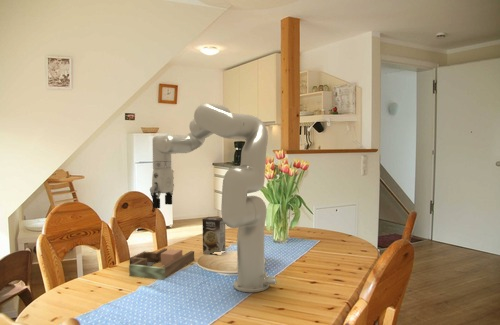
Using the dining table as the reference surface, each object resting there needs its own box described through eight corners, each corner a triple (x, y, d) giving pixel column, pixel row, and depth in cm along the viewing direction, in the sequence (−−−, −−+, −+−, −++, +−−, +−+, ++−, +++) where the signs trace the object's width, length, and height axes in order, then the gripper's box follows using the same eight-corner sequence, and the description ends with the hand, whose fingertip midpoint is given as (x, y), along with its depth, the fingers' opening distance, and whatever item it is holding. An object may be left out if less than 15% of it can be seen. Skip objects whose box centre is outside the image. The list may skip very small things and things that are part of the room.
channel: (194, 260, 160) (194, 251, 160) (163, 279, 137) (162, 268, 137) (153, 256, 167) (152, 247, 167) (116, 274, 144) (116, 263, 144)
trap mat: (155, 263, 157) (155, 262, 157) (147, 267, 151) (147, 267, 151) (145, 262, 158) (145, 261, 158) (136, 266, 153) (136, 265, 153)
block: (182, 261, 159) (182, 249, 159) (173, 266, 152) (173, 254, 152) (170, 260, 161) (170, 248, 161) (161, 265, 154) (160, 253, 154)
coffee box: (202, 253, 170) (201, 218, 169) (209, 250, 176) (208, 216, 175) (220, 255, 166) (219, 220, 166) (226, 251, 172) (225, 217, 172)
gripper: (158, 166, 144) (159, 210, 145) (180, 164, 161) (180, 203, 162) (142, 166, 147) (143, 209, 147) (164, 164, 163) (165, 202, 164)
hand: (162, 206), depth 155 cm, fingers open, 9 cm apart
